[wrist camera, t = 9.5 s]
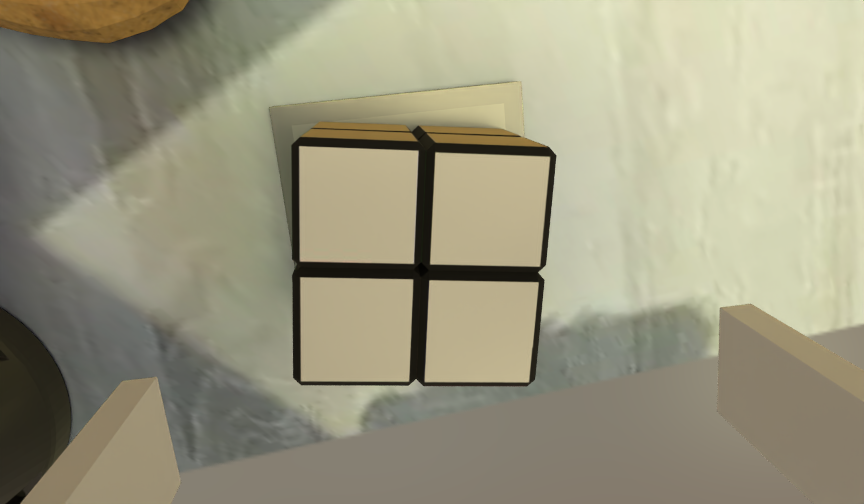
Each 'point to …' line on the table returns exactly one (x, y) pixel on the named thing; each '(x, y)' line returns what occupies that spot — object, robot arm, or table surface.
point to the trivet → (398, 117)
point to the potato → (87, 17)
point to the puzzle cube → (418, 254)
